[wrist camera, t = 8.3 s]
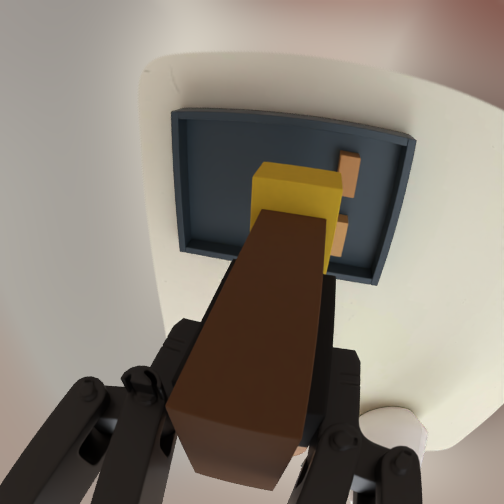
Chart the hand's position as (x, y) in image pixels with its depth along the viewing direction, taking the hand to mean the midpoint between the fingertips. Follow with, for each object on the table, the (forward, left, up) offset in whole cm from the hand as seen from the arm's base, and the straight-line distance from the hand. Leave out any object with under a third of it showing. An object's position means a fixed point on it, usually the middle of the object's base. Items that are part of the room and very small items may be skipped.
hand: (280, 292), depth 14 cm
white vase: (+15, +34, -12) cm, 40 cm away
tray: (+1, -1, -12) cm, 12 cm away
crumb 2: (-4, +1, -11) cm, 12 cm away
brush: (0, 0, -5) cm, 5 cm away
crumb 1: (0, +4, -11) cm, 12 cm away
